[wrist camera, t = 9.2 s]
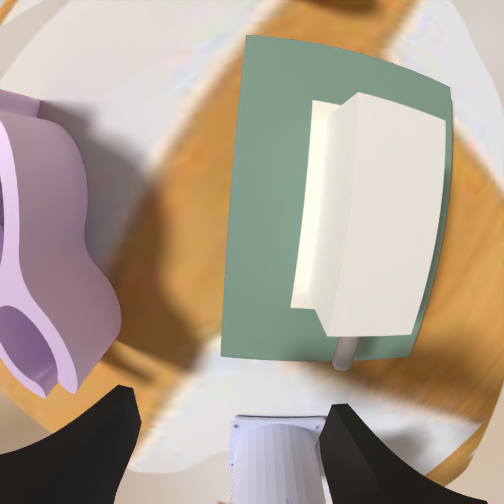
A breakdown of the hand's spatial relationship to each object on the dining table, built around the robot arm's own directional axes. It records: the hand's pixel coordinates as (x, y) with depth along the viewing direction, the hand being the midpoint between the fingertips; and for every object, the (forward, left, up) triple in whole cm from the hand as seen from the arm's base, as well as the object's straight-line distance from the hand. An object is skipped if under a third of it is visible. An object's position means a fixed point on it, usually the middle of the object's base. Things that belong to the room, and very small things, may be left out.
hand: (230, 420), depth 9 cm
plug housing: (+5, -6, -8) cm, 11 cm away
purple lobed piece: (+4, +16, -10) cm, 19 cm away
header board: (+7, -6, -9) cm, 13 cm away
